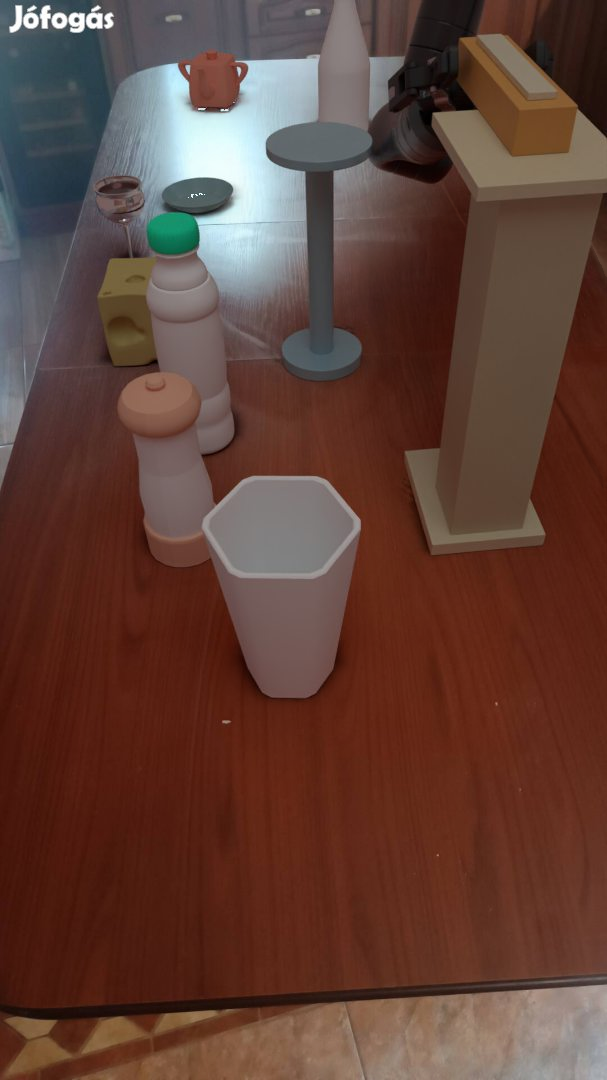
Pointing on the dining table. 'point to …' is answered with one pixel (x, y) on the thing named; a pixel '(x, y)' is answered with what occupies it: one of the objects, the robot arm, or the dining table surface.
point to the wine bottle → (344, 69)
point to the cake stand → (320, 242)
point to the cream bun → (515, 96)
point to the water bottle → (189, 323)
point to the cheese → (127, 311)
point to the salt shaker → (169, 465)
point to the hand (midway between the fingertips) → (497, 57)
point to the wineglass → (120, 201)
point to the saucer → (211, 187)
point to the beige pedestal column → (506, 331)
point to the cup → (285, 576)
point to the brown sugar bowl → (213, 79)
